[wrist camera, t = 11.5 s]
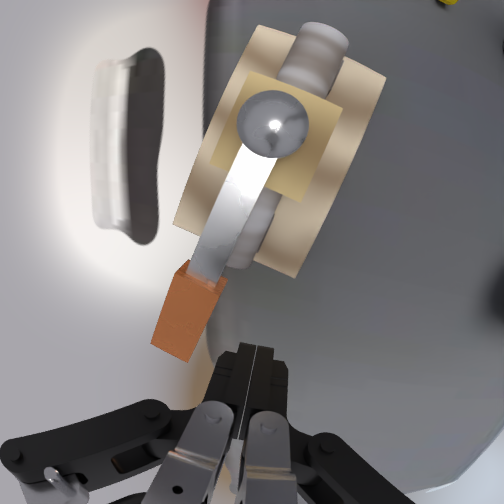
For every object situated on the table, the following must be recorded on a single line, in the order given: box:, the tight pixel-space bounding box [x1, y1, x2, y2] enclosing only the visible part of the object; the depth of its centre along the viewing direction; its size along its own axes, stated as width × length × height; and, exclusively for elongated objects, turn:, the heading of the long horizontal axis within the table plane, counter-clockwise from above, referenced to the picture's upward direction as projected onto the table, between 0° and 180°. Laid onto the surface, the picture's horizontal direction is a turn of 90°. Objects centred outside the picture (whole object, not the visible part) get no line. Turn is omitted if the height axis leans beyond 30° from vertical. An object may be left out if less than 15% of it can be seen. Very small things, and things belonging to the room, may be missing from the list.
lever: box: [151, 90, 309, 363], centre depth 13 cm, size 3×14×2 cm, turn 155°
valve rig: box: [173, 22, 386, 278], centre depth 18 cm, size 20×12×11 cm, turn 157°
